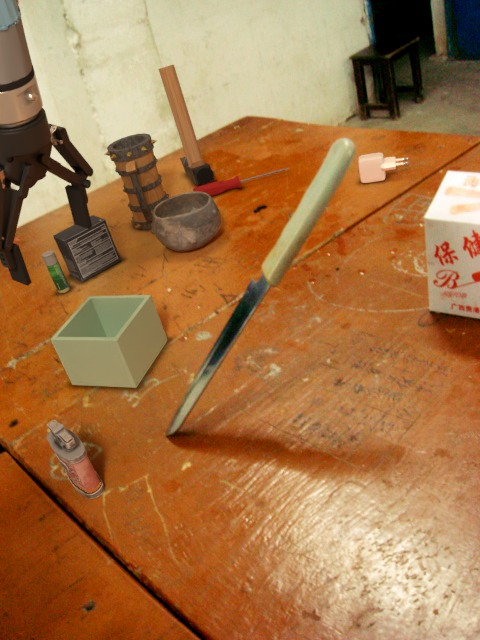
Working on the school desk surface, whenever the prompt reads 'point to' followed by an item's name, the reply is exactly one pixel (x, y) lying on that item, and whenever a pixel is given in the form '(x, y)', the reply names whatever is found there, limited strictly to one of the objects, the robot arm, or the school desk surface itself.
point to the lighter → (74, 459)
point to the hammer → (185, 129)
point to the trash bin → (110, 341)
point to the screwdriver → (226, 184)
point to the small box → (87, 249)
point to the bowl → (186, 221)
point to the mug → (138, 176)
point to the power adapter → (377, 166)
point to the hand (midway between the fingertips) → (54, 252)
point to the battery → (55, 271)
